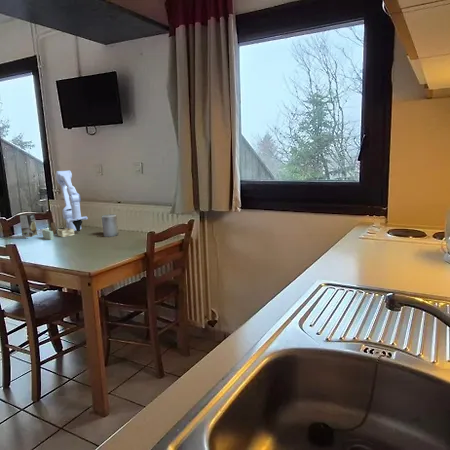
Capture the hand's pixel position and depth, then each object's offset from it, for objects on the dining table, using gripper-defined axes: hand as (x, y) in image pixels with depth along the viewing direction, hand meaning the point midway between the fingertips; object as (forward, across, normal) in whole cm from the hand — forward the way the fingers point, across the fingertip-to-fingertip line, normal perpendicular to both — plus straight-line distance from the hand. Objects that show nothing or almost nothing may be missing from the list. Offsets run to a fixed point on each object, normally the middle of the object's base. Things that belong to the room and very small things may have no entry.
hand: (78, 231), depth 283 cm
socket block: (+1, -9, 0) cm, 9 cm away
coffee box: (+3, -25, +21) cm, 33 cm away
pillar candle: (+3, +12, -22) cm, 25 cm away
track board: (+2, -12, 0) cm, 13 cm away
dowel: (+2, -12, +12) cm, 17 cm away
